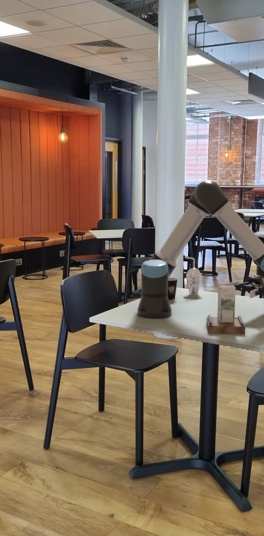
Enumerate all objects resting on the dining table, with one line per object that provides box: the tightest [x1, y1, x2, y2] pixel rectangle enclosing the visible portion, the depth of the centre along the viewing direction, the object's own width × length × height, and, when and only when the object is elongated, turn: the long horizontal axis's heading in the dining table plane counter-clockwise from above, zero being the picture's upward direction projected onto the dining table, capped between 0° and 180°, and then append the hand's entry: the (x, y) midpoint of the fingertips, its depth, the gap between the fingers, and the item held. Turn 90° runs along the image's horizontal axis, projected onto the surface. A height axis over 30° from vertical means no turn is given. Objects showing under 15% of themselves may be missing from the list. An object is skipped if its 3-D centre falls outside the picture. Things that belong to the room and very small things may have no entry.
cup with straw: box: [184, 256, 203, 296], centre depth 276 cm, size 8×9×20 cm
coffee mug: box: [168, 277, 178, 301], centre depth 266 cm, size 12×9×10 cm
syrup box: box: [216, 284, 237, 323], centre depth 208 cm, size 6×6×14 cm
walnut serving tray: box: [205, 314, 246, 335], centre depth 209 cm, size 14×14×4 cm
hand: (234, 292), depth 214 cm, fingers open, 13 cm apart
